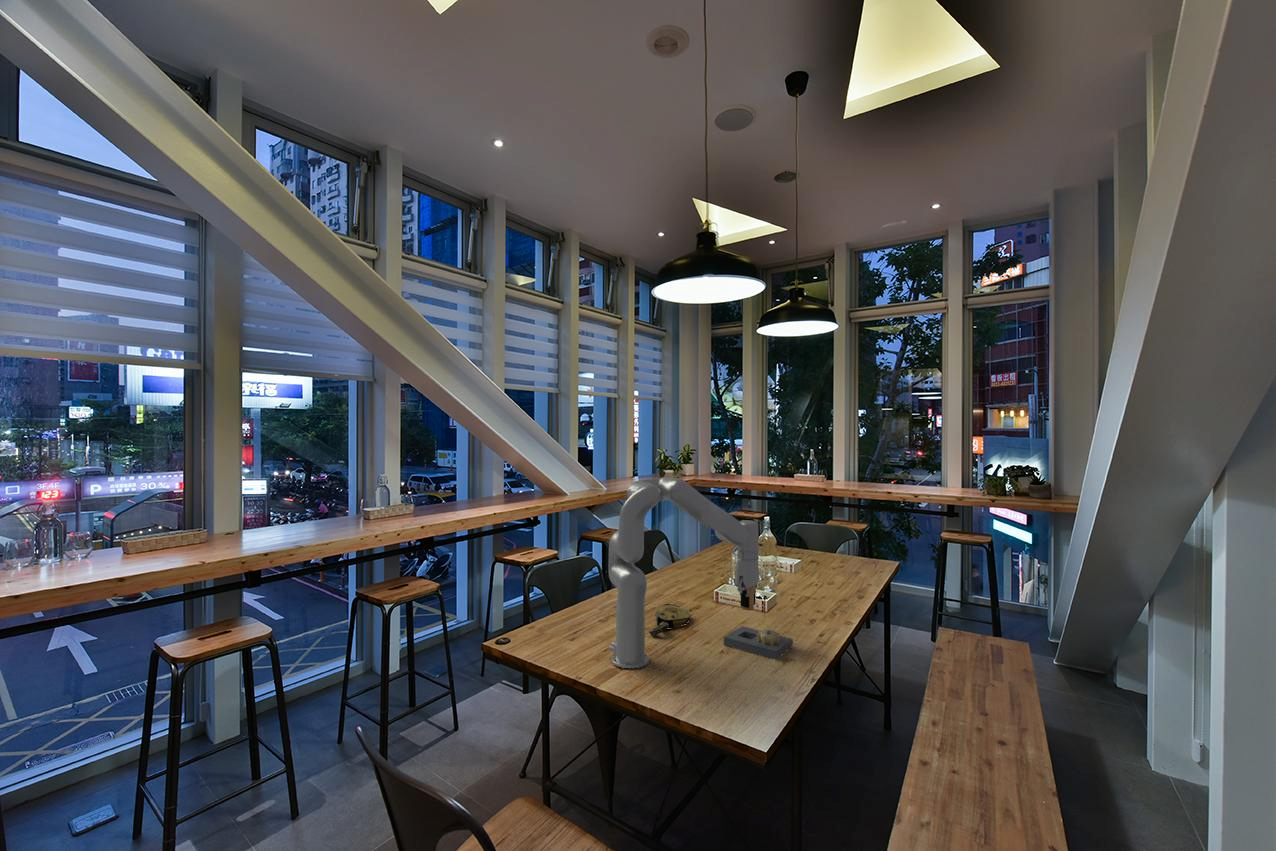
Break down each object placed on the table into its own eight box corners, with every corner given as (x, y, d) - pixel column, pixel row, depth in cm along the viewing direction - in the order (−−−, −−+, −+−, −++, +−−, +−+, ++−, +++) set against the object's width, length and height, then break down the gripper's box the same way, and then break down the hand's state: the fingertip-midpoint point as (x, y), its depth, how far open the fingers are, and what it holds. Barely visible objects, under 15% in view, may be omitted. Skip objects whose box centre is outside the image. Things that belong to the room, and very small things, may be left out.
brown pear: (740, 608, 194) (740, 586, 195) (745, 606, 198) (745, 584, 198) (750, 611, 192) (750, 588, 192) (755, 608, 195) (755, 586, 195)
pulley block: (637, 618, 202) (666, 597, 229) (635, 633, 202) (664, 610, 230) (672, 630, 196) (697, 606, 224) (670, 645, 196) (695, 620, 224)
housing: (723, 645, 193) (723, 627, 193) (742, 634, 204) (742, 616, 204) (775, 660, 180) (775, 640, 180) (792, 647, 191) (792, 629, 191)
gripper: (749, 549, 204) (749, 598, 204) (727, 557, 191) (727, 609, 191) (767, 552, 199) (767, 602, 199) (746, 560, 186) (746, 613, 186)
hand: (748, 604), depth 195 cm, fingers closed on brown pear, 4 cm apart
